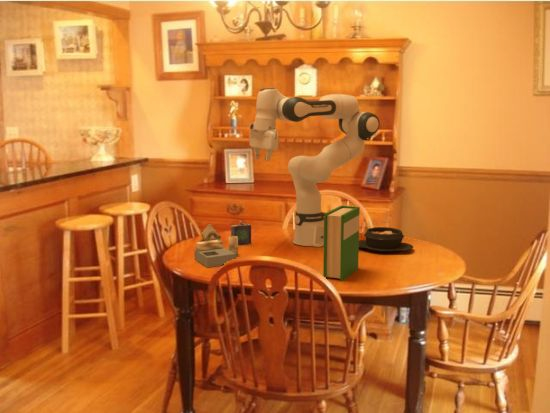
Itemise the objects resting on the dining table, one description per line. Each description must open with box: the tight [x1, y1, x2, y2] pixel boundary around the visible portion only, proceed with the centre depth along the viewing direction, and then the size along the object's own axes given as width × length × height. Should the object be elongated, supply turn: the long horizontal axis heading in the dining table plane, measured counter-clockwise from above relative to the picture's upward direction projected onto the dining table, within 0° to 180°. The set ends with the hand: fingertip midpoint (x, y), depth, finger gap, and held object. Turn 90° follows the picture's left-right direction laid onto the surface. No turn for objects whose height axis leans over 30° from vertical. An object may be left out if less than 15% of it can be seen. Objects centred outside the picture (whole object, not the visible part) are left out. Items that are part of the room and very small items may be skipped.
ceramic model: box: [198, 223, 222, 242], centre depth 255 cm, size 14×11×10 cm
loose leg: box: [228, 235, 239, 257], centre depth 239 cm, size 4×4×8 cm
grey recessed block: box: [193, 246, 236, 269], centre depth 231 cm, size 12×14×4 cm
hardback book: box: [322, 205, 361, 282], centre depth 213 cm, size 18×7×24 cm, turn 154°
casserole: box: [359, 226, 414, 254], centre depth 248 cm, size 25×19×8 cm
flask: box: [230, 220, 252, 246], centre depth 258 cm, size 9×3×11 cm, turn 109°
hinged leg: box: [195, 239, 224, 251], centre depth 235 cm, size 11×3×3 cm, turn 118°
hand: (262, 159), depth 243 cm, fingers open, 8 cm apart
